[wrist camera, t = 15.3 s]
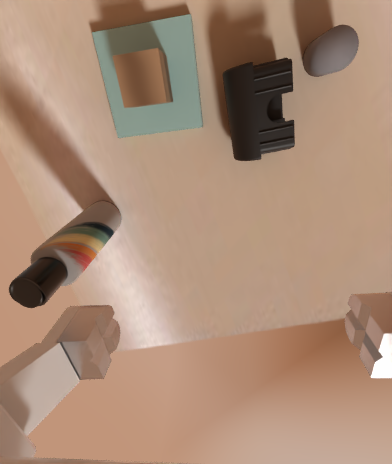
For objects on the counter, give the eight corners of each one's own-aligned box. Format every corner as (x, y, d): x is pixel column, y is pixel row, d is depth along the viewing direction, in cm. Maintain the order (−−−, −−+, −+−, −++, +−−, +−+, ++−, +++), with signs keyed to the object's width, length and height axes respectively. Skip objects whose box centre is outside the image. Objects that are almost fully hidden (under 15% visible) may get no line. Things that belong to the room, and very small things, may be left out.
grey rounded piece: (339, 34, 29) (361, 21, 25) (335, 73, 31) (355, 68, 26) (303, 40, 30) (319, 28, 25) (301, 79, 31) (315, 74, 27)
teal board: (191, 17, 29) (190, 13, 28) (203, 126, 35) (202, 127, 34) (96, 34, 31) (91, 32, 30) (121, 137, 36) (118, 138, 35)
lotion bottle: (97, 233, 44) (17, 321, 26) (83, 204, 42) (-16, 278, 24) (127, 227, 43) (63, 313, 25) (114, 196, 41) (34, 268, 23)
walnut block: (166, 56, 30) (157, 47, 26) (173, 101, 33) (166, 101, 28) (127, 62, 31) (112, 55, 27) (136, 107, 33) (124, 107, 29)
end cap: (221, 75, 32) (222, 68, 26) (278, 61, 31) (293, 51, 25) (232, 154, 36) (235, 164, 30) (283, 144, 35) (296, 152, 29)
